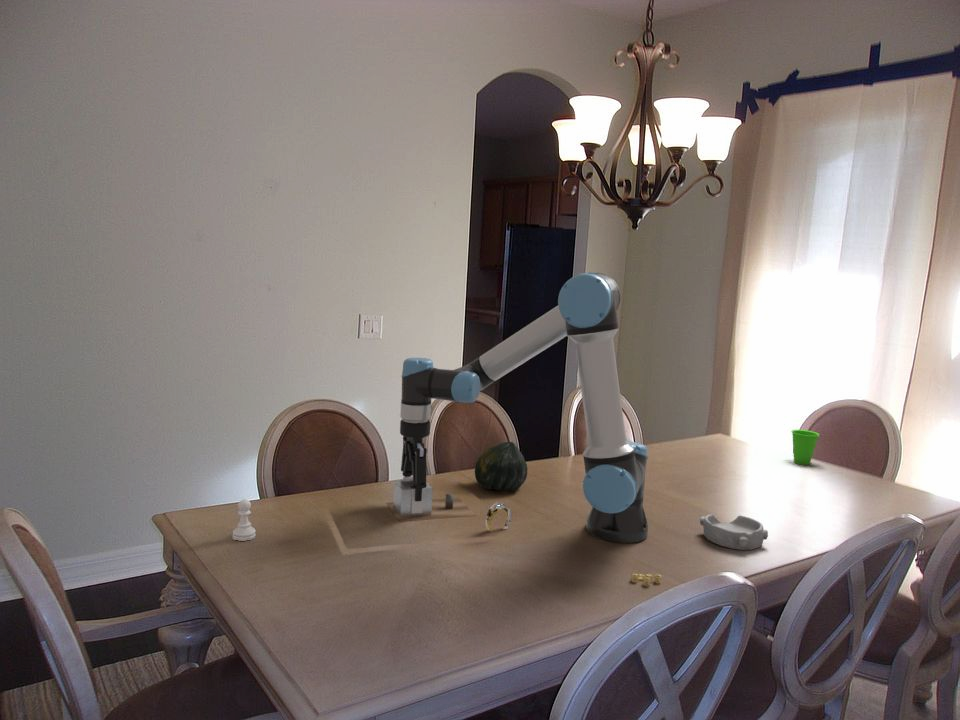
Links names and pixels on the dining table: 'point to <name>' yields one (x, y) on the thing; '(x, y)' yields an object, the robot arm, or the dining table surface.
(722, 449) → the dining table surface
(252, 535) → the chess pawn
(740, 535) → the dish
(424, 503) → the white open box
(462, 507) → the peg board
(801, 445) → the cup
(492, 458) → the squash
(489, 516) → the bracelet
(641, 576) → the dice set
